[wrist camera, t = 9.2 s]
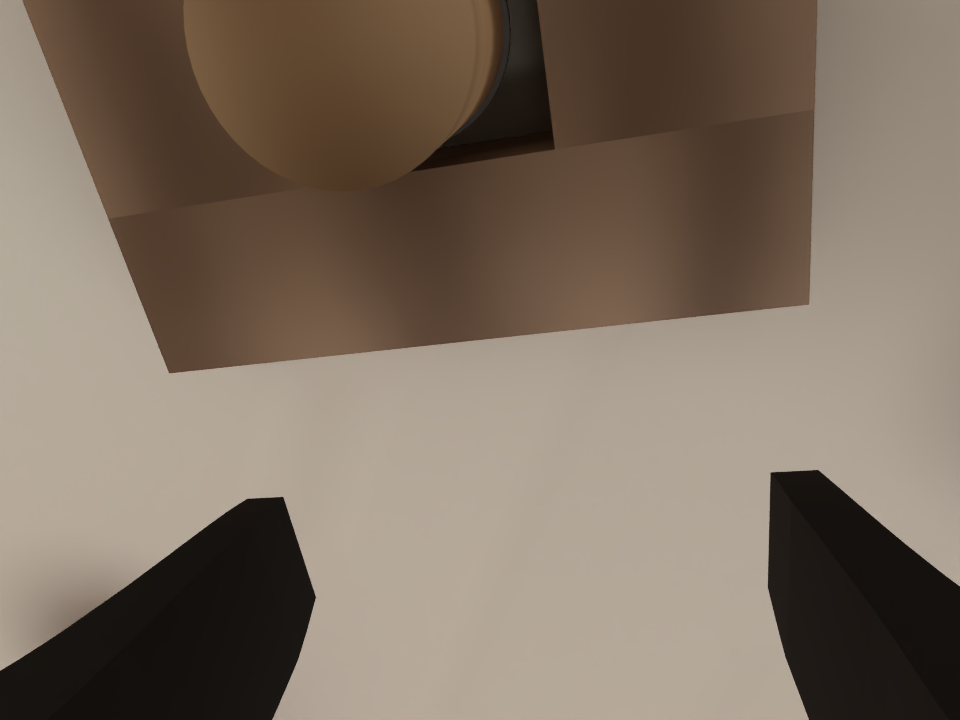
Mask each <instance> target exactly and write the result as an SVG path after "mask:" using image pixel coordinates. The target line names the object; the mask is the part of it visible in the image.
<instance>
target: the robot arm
mask: <svg viewBox="0 0 960 720" xmlns="http://www.w3.org/2000/svg"><path fill="white" fill-rule="evenodd" d="M768 589H769V594H770V598H771V602H772V606H773V610H774V614H775V618H776V622H777V626H778V630H779V634H780V638H781V641H782V645H783V649H784V653H785V657H786V659H787V662H788V665H789V667H790V670H791V673H792V676H793V678H794V681H795V684H796V686H797V689H798V691H799V694H800V697H801V699H802V702H803V705H804V707H805V710H806V713H807V715H808V718H809V720H960V586H958V585H957V584H956V583H954V582H953V581H952V580H950V579H949V578H948V577H946V576H945V575H944V574H942V573H941V572H940V571H939V570H937V569H936V568H935V567H933V566H932V565H931V564H930V563H928V562H927V561H926V560H925V559H923V558H922V557H921V556H920V555H918V554H917V553H916V552H915V551H913V550H912V549H911V548H910V547H908V546H907V545H906V544H905V543H903V542H902V541H901V540H900V539H899V538H897V537H896V536H895V535H894V534H893V533H891V532H890V531H889V530H888V529H887V528H885V527H884V526H883V525H882V524H881V523H880V522H878V521H877V520H876V519H875V518H874V517H872V516H871V515H870V514H869V513H868V512H867V511H865V510H864V509H863V508H862V507H861V506H860V505H858V504H857V503H856V502H855V501H854V500H853V499H851V498H850V497H849V496H848V495H847V494H846V493H844V492H843V491H842V490H841V489H840V488H839V487H837V486H836V485H835V484H834V483H833V482H832V481H830V480H829V479H828V478H827V477H826V476H825V475H823V474H822V473H821V472H820V471H819V470H811V471H792V472H772V473H771V482H770V523H769V564H768ZM315 599H316V596H315V593H314V590H313V587H312V584H311V581H310V578H309V575H308V572H307V569H306V566H305V563H304V559H303V556H302V553H301V550H300V547H299V544H298V541H297V538H296V535H295V532H294V529H293V526H292V523H291V520H290V516H289V513H288V510H287V507H286V504H285V501H284V498H283V497H275V498H255V499H246V500H245V501H243V502H242V503H240V504H238V505H237V506H235V507H234V508H232V509H231V510H229V511H228V512H226V513H225V514H224V515H222V516H221V517H219V518H218V519H217V520H215V521H214V522H212V523H211V524H210V525H208V526H207V527H206V528H204V529H203V530H202V531H200V532H199V533H198V534H196V535H195V536H194V537H192V538H191V539H190V540H188V541H187V542H186V543H184V544H183V545H182V546H180V547H179V548H178V549H176V550H175V551H174V552H172V553H171V554H170V555H168V556H167V557H166V558H164V559H163V560H161V561H160V562H159V563H157V564H156V565H155V566H153V567H152V568H151V569H149V570H148V571H147V572H145V573H144V574H143V575H141V576H140V577H139V578H137V579H136V580H135V581H133V582H132V583H131V584H129V585H128V586H127V587H125V588H124V589H122V590H121V591H119V592H118V593H117V594H115V595H114V596H112V597H111V598H109V599H108V600H107V601H105V602H104V603H102V604H101V605H99V606H98V607H97V608H95V609H94V610H92V611H91V612H89V613H88V614H87V615H85V616H84V617H82V618H81V619H79V620H78V621H77V622H75V623H74V624H72V625H71V626H69V627H68V628H67V629H65V630H64V631H62V632H61V633H59V634H58V635H56V636H55V637H53V638H52V639H50V640H49V641H47V642H46V643H44V644H43V645H41V646H40V647H38V648H36V649H35V650H33V651H32V652H30V653H29V654H27V655H25V656H24V657H22V658H21V659H19V660H17V661H16V662H14V663H12V664H11V665H9V666H8V667H6V668H4V669H3V670H1V671H0V720H272V719H273V717H274V714H275V712H276V710H277V708H278V705H279V703H280V701H281V698H282V696H283V694H284V691H285V689H286V687H287V684H288V682H289V680H290V677H291V675H292V673H293V670H294V668H295V665H296V663H297V661H298V658H299V655H300V651H301V648H302V645H303V642H304V638H305V635H306V632H307V628H308V624H309V621H310V617H311V613H312V610H313V606H314V602H315Z"/></svg>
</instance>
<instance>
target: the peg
mask: <svg viewBox="0 0 960 720" xmlns="http://www.w3.org/2000/svg"><path fill="white" fill-rule="evenodd" d="M183 11H184V31H185V37H186V44H187V50H188V54H189V58H190V61H191V65H192V69H193V72H194V74H195V77H196V80H197V82H198V85H199V87H200V90H201V92H202V94H203V96H204V98H205V100H206V101H207V103H208V105H209V107H210V109H211V110H212V112H213V114H214V115H215V117H216V118H217V120H218V121H219V123H220V124H221V125H222V127H223V128H224V129H225V130H226V132H227V133H228V134H229V135H230V136H231V138H232V139H233V140H234V141H235V142H236V143H237V144H238V145H239V146H240V147H241V148H242V149H243V150H244V151H245V152H246V153H247V154H249V155H250V156H251V157H252V158H254V159H255V160H256V161H258V162H259V163H260V164H261V165H263V166H264V167H266V168H268V169H269V170H271V171H273V172H274V173H276V174H278V175H280V176H282V177H284V178H286V179H288V180H291V181H293V182H295V183H298V184H301V185H305V186H308V187H311V188H316V189H322V190H328V191H357V190H365V189H369V188H373V187H378V186H381V185H384V184H386V183H389V182H391V181H394V180H396V179H398V178H400V177H402V176H403V175H405V174H407V173H409V172H410V171H412V170H413V169H415V168H416V167H417V166H418V165H420V164H421V163H422V162H424V161H425V160H426V159H427V158H428V157H429V156H430V155H431V154H432V153H434V152H435V151H436V150H437V149H438V148H439V147H440V146H441V145H442V144H443V143H444V142H445V141H446V140H448V139H450V138H452V137H453V136H455V135H457V134H459V133H460V132H461V131H463V130H464V129H465V128H467V127H468V126H469V125H471V124H472V123H473V122H474V121H475V119H476V118H477V117H478V116H479V115H480V114H481V113H482V112H483V111H484V110H485V108H486V107H487V106H488V104H489V103H490V102H491V100H492V99H493V97H494V95H495V93H496V92H497V90H498V88H499V85H500V83H501V81H502V78H503V76H504V73H505V69H506V65H507V62H508V56H509V50H510V34H511V28H510V16H509V10H508V5H507V0H184V6H183Z"/></svg>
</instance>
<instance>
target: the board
mask: <svg viewBox="0 0 960 720" xmlns="http://www.w3.org/2000/svg"><path fill="white" fill-rule="evenodd" d="M23 3H24V6H25V8H26V11H27V13H28V16H29V18H30V21H31V23H32V26H33V28H34V31H35V34H36V36H37V39H38V41H39V44H40V46H41V49H42V51H43V54H44V56H45V59H46V61H47V64H48V67H49V69H50V72H51V74H52V77H53V79H54V82H55V84H56V87H57V89H58V92H59V94H60V97H61V100H62V102H63V105H64V107H65V110H66V112H67V115H68V117H69V120H70V122H71V125H72V127H73V130H74V133H75V135H76V138H77V140H78V143H79V145H80V148H81V150H82V153H83V155H84V158H85V161H86V163H87V166H88V168H89V171H90V173H91V176H92V178H93V181H94V183H95V186H96V188H97V191H98V194H99V196H100V199H101V201H102V204H103V206H104V209H105V211H106V214H107V216H108V219H109V221H110V224H111V227H112V229H113V232H114V234H115V237H116V239H117V242H118V244H119V247H120V249H121V252H122V254H123V257H124V260H125V262H126V265H127V267H128V270H129V272H130V275H131V277H132V280H133V282H134V285H135V288H136V290H137V293H138V295H139V298H140V300H141V303H142V305H143V308H144V310H145V313H146V315H147V318H148V321H149V323H150V326H151V328H152V331H153V333H154V336H155V338H156V341H157V343H158V346H159V348H160V351H161V354H162V356H163V359H164V361H165V364H166V366H167V369H168V371H169V373H176V372H185V371H195V370H204V369H213V368H223V367H232V366H241V365H250V364H260V363H269V362H278V361H288V360H297V359H306V358H315V357H325V356H334V355H343V354H353V353H362V352H371V351H380V350H390V349H399V348H408V347H418V346H427V345H436V344H445V343H455V342H464V341H473V340H483V339H492V338H501V337H511V336H520V335H529V334H538V333H548V332H557V331H566V330H576V329H585V328H594V327H603V326H613V325H622V324H631V323H641V322H650V321H659V320H668V319H678V318H687V317H696V316H706V315H715V314H724V313H733V312H743V311H752V310H761V309H771V308H780V307H789V306H798V305H808V304H809V290H810V253H811V216H812V179H813V142H814V105H815V68H816V31H817V0H537V5H538V13H539V22H540V30H541V38H542V46H543V55H544V63H545V71H546V79H547V88H548V96H549V104H550V112H551V120H552V129H553V131H548V132H542V133H535V134H529V135H523V136H516V137H510V138H504V139H498V140H491V141H485V142H479V143H473V144H466V145H460V146H454V147H448V148H441V149H437V150H436V151H435V152H434V153H432V154H431V155H430V156H429V157H428V158H427V159H426V160H425V161H424V162H422V163H421V164H420V165H418V166H417V167H416V168H415V169H413V170H412V171H410V172H409V173H407V174H405V175H403V176H402V177H400V178H398V179H396V180H394V181H391V182H389V183H386V184H384V185H381V186H378V187H373V188H369V189H365V190H357V191H328V190H322V189H316V188H311V187H308V186H305V185H301V184H298V183H295V182H293V181H291V180H288V179H286V178H284V177H282V176H280V175H278V174H276V173H274V172H273V171H271V170H269V169H268V168H266V167H264V166H263V165H261V164H260V163H259V162H258V161H256V160H255V159H254V158H252V157H251V156H250V155H249V154H247V153H246V152H245V151H244V150H243V149H242V148H241V147H240V146H239V145H238V144H237V143H236V142H235V141H234V140H233V139H232V138H231V136H230V135H229V134H228V133H227V132H226V130H225V129H224V128H223V127H222V125H221V124H220V123H219V121H218V120H217V118H216V117H215V115H214V114H213V112H212V110H211V109H210V107H209V105H208V103H207V101H206V100H205V98H204V96H203V94H202V92H201V90H200V87H199V85H198V82H197V80H196V77H195V74H194V72H193V69H192V65H191V61H190V58H189V54H188V50H187V44H186V37H185V31H184V11H183V6H184V0H23Z"/></svg>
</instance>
